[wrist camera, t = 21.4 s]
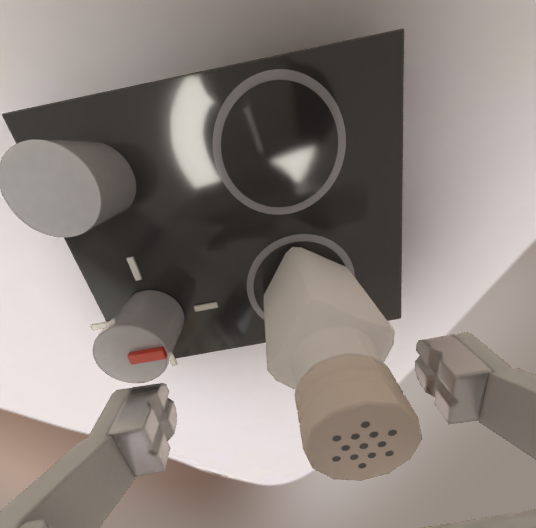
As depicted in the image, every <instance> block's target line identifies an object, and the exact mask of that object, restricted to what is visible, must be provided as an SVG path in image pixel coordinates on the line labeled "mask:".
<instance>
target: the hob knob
mask: <svg viewBox="0 0 536 528" xmlns="http://www.w3.org/2000/svg"><path fill="white" fill-rule="evenodd" d="M183 325H184V313H183V310H182V308H181V306H180V304H179V303H178V302H177V301H176V300H175V299H174V298H172V297H171V296H169V295H168V294H166V293H163V292H160V291H155V290H146V291H141V292H138V293H135V294H134V295H132V296H131V297H129V299H128V300H127V301H126V302H125V303H124V304H123V306H122V307H121V308H120V309H119V310H118V312H117V313H116V314H115V315H114V317H113V318H112V319H111V320H110V321H109V323H108V324H107V325H106V326H105V328H104V329H103V330H102V331H101V332H100V334H99V335H98V336H97V338H96V339H95V341H94V345H93V356H94V359H95V361H96V363H97V364H98V366H99V367H100V368H101V369H102V370H103V371H104V372H105V373H106V374H108V375H109V376H111V377H113V378H115V379H117V380H120V381H124V382H129V383H144V382H148V381H151V380H153V379H155V378H157V377H159V376H160V375H161V374H162V373H163V372H164V371H165V369H166V368H167V365H168V363H169V360H170V358H171V355H172V353H173V350H174V348H175V345H176V343H177V340H178V338H179V335H180V333H181V330H182V328H183Z"/></svg>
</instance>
